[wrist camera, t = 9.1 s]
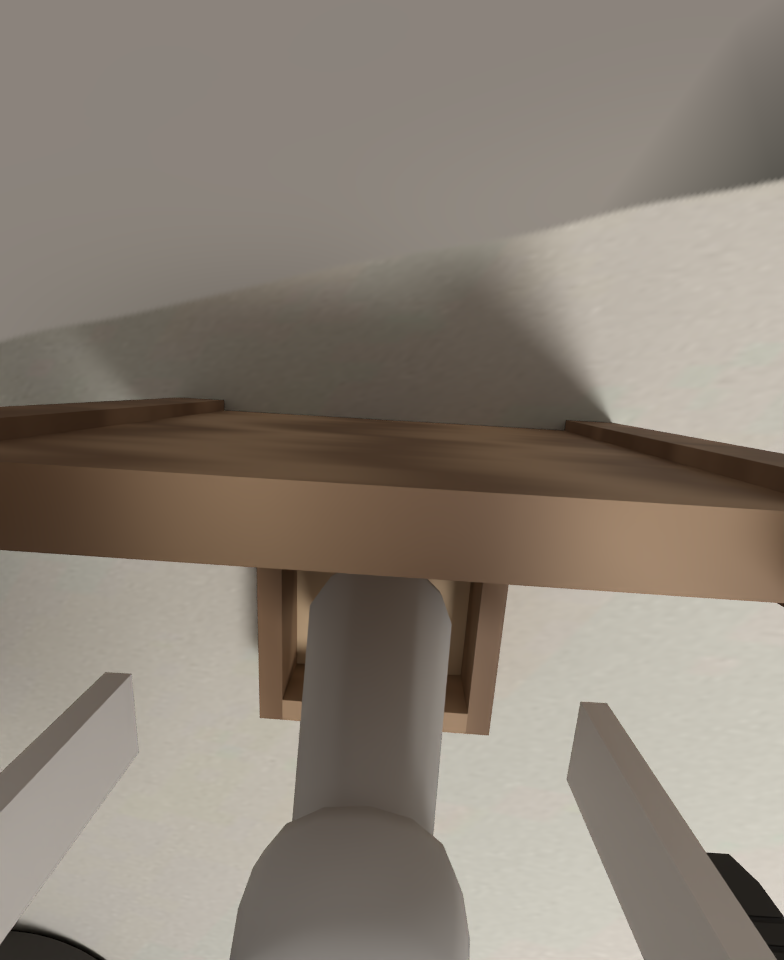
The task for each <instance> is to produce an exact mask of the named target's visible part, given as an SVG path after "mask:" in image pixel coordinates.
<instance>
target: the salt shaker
mask: <svg viewBox="0 0 784 960" xmlns="http://www.w3.org/2000/svg"><path fill="white" fill-rule="evenodd" d="M451 626H452V624H451V621H450V618H449V615H448V612H447V609H446V606H445V603H444V600H443V597H442V595H441V593H440V591H439V590H438V589H437V588H436V587H435V586H434V585H433V584H432V583H431V582H430V581H429V580H428V579H420V578H406V577H391V576H376V575H361V574H347V573H336V574H334V575H332V576H331V577H330V579H329V580H328V581H327V582H326V584H325V585H324V587H323V588H322V589H321V591H320V592H319V593H318V595H317V596H316V597H315V599H314V600H313V602H312V603H311V604H310V610H309V623H308V635H307V647H306V660H305V672H304V684H303V696H302V709H301V721H300V733H299V746H298V758H297V770H296V782H295V795H294V807H293V819H292V822H289V823H287V824H286V825H285V826H284V827H283V828H282V830H281V831H280V832H279V833H278V834H277V836H276V837H275V838H274V839H273V840H272V841H271V843H270V844H269V845H268V846H267V847H266V849H265V850H264V851H263V853H262V854H261V856H260V858H259V859H258V861H257V862H256V864H255V865H254V867H253V869H252V872H251V875H250V877H249V880H248V883H247V886H246V888H245V891H244V894H243V897H242V899H241V902H240V905H239V908H238V913H237V919H236V924H235V930H234V936H233V942H232V948H231V954H230V960H469V948H470V937H469V931H468V924H467V918H466V911H465V905H464V898H463V893H462V891H461V888H460V886H459V883H458V880H457V878H456V875H455V873H454V870H453V868H452V865H451V863H450V861H449V858H448V856H447V853H446V851H445V848H444V846H443V844H442V843H441V842H439V841H438V840H437V839H436V838H435V837H434V836H433V831H434V820H435V808H436V797H437V785H438V774H439V763H440V751H441V740H442V728H443V717H444V706H445V694H446V683H447V672H448V660H449V649H450V637H451Z"/></svg>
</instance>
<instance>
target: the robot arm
mask: <svg viewBox="0 0 784 960" xmlns="http://www.w3.org/2000/svg"><path fill="white" fill-rule="evenodd" d="M138 753H139V749H138V738H137V727H136V716H135V705H134V694H133V684H132V674H124V673H108V672H105V673H104V674H103V675H102V676H101V677H100V678H99V679H98V680H97V681H96V682H95V683H94V684H93V685H92V686H91V687H90V688H89V689H88V690H87V691H86V692H85V693H83V694H82V695H81V696H80V697H79V698H78V699H77V700H76V701H75V702H74V703H73V704H72V705H71V706H70V707H69V708H68V709H67V710H66V711H65V712H64V713H63V714H62V715H60V716H59V717H58V718H57V719H56V720H55V721H54V722H53V723H52V724H51V725H50V726H49V727H48V728H47V729H46V730H45V731H44V732H43V733H42V734H41V735H40V736H39V737H38V738H36V739H35V740H34V741H33V742H32V743H31V744H30V745H29V746H28V747H27V748H26V749H25V750H24V751H23V752H22V753H21V754H20V755H19V756H18V757H17V758H16V759H15V760H13V761H12V762H11V763H10V764H9V765H8V766H7V767H6V768H5V769H4V770H3V771H2V772H1V773H0V960H97V959H95V958H93V957H92V956H90V955H88V954H87V953H85V952H83V951H81V950H79V949H77V948H75V947H73V946H70V945H68V944H66V943H63V942H60V941H57V940H54V939H51V938H48V937H44V936H40V935H36V934H30V933H24V932H15V931H10V930H11V929H12V927H13V926H14V925H15V923H16V922H17V921H18V919H19V918H20V916H21V915H22V914H23V912H24V911H25V909H26V908H27V907H28V905H29V904H30V903H31V901H32V900H33V898H34V897H35V896H36V894H37V893H38V891H39V890H40V889H41V887H42V886H43V884H44V883H45V882H46V880H47V879H48V878H49V876H50V875H51V873H52V872H53V871H54V869H55V868H56V866H57V865H58V864H59V862H60V861H61V860H62V858H63V857H64V855H65V854H66V853H67V851H68V850H69V848H70V847H71V846H72V844H73V843H74V842H75V840H76V839H77V837H78V836H79V835H80V833H81V832H82V830H83V829H84V828H85V826H86V825H87V824H88V822H89V821H90V819H91V818H92V817H93V815H94V814H95V812H96V811H97V810H98V808H99V807H100V806H101V804H102V803H103V801H104V800H105V799H106V797H107V796H108V794H109V793H110V792H111V790H112V789H113V788H114V786H115V785H116V783H117V782H118V781H119V779H120V778H121V776H122V775H123V774H124V772H125V771H126V770H127V768H128V767H129V765H130V764H131V763H132V761H133V760H134V758H135V757H136V756H137V754H138ZM567 781H568V784H569V786H570V788H571V791H572V793H573V795H574V798H575V800H576V802H577V805H578V807H579V809H580V812H581V814H582V816H583V819H584V821H585V823H586V826H587V828H588V830H589V833H590V835H591V837H592V840H593V842H594V844H595V847H596V849H597V851H598V854H599V856H600V858H601V861H602V863H603V865H604V868H605V870H606V872H607V875H608V877H609V879H610V882H611V884H612V886H613V889H614V891H615V893H616V896H617V898H618V900H619V903H620V905H621V907H622V910H623V912H624V914H625V917H626V919H627V921H628V924H629V926H630V928H631V930H632V933H633V935H634V937H635V940H636V942H637V944H638V947H639V949H640V951H641V954H642V956H643V958H644V960H784V916H783V915H782V913H781V912H780V911H779V909H778V908H777V907H776V905H775V904H774V903H773V901H772V900H771V898H770V897H769V896H768V894H767V893H766V892H765V890H764V889H763V887H762V886H761V885H760V883H759V882H758V881H757V880H756V879H754V878H753V877H752V876H751V875H750V874H749V873H748V872H747V871H746V870H745V869H744V868H743V867H742V866H741V865H740V864H739V863H738V862H737V861H736V860H735V859H734V858H732V857H731V856H730V855H729V854H720V853H706V852H705V850H704V849H703V847H702V846H701V844H700V843H699V841H698V840H697V838H696V837H695V835H694V834H693V832H692V831H691V829H690V828H689V826H688V825H687V823H686V822H685V820H684V819H683V817H682V816H681V814H680V813H679V811H678V810H677V808H676V807H675V805H674V804H673V802H672V801H671V799H670V798H669V796H668V795H667V793H666V792H665V790H664V789H663V787H662V786H661V784H660V783H659V781H658V780H657V778H656V777H655V775H654V774H653V772H652V771H651V769H650V768H649V766H648V764H647V763H646V761H645V760H644V758H643V757H642V755H641V754H640V752H639V751H638V749H637V748H636V746H635V745H634V743H633V742H632V740H631V739H630V737H629V736H628V734H627V733H626V731H625V730H624V728H623V727H622V725H621V724H620V722H619V721H618V719H617V718H616V716H615V715H614V713H613V712H612V710H611V709H610V707H609V706H608V704H607V703H593V702H580V708H579V713H578V719H577V724H576V730H575V735H574V741H573V747H572V752H571V758H570V763H569V769H568V774H567Z"/></svg>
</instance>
